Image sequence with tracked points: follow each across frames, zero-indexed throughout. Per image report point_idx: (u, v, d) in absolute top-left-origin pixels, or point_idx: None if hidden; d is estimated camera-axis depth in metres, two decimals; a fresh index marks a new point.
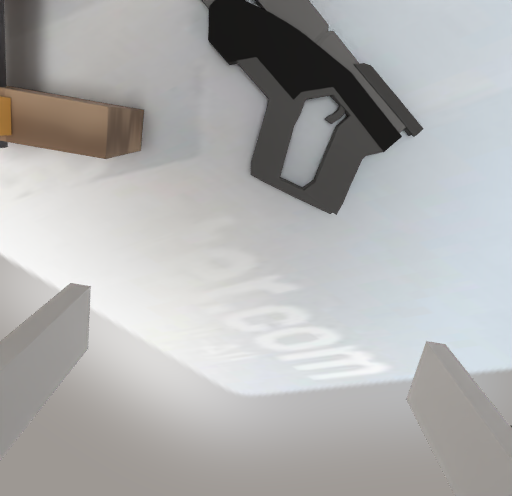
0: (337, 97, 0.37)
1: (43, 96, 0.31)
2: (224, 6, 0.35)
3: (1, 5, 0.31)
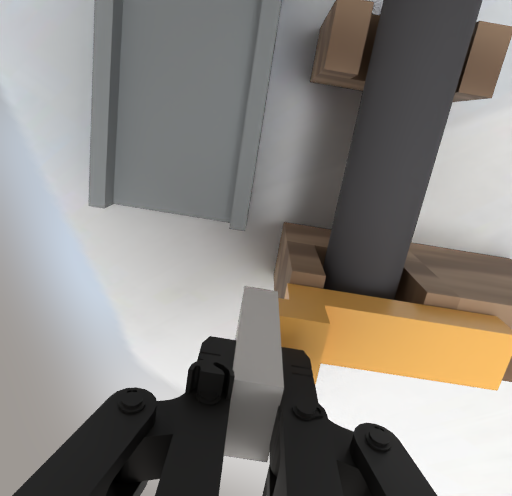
0: None
1: None
2: None
3: None
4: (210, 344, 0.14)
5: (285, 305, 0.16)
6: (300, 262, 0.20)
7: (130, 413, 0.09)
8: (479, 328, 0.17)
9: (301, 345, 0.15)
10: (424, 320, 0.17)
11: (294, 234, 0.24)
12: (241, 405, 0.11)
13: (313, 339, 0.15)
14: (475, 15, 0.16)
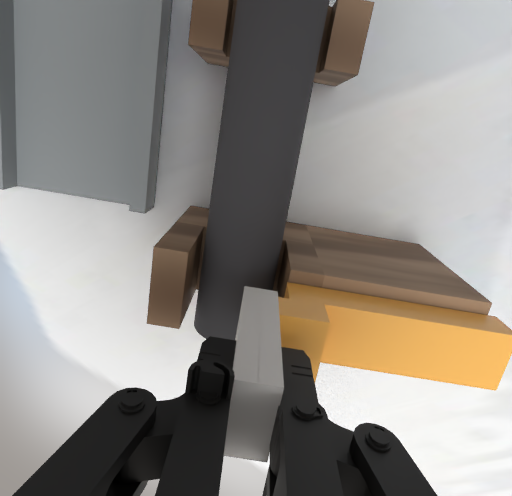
0: None
1: (386, 286, 0.18)
2: None
3: None
4: (210, 344, 0.14)
5: (285, 304, 0.16)
6: (171, 240, 0.19)
7: (130, 413, 0.09)
8: (478, 329, 0.17)
9: (301, 344, 0.16)
10: (424, 319, 0.17)
11: (191, 216, 0.24)
12: (241, 405, 0.11)
13: (313, 338, 0.15)
14: None
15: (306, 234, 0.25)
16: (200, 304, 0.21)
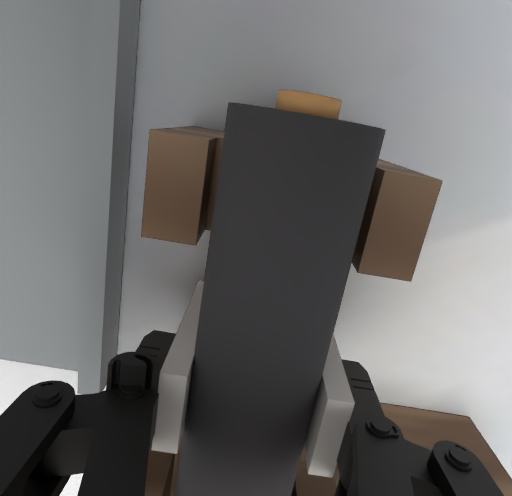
0: None
1: None
2: None
3: None
4: (152, 338, 0.13)
5: None
6: None
7: (46, 406, 0.09)
8: None
9: None
10: None
11: None
12: (171, 399, 0.11)
13: None
14: (364, 182, 0.09)
15: None
16: None
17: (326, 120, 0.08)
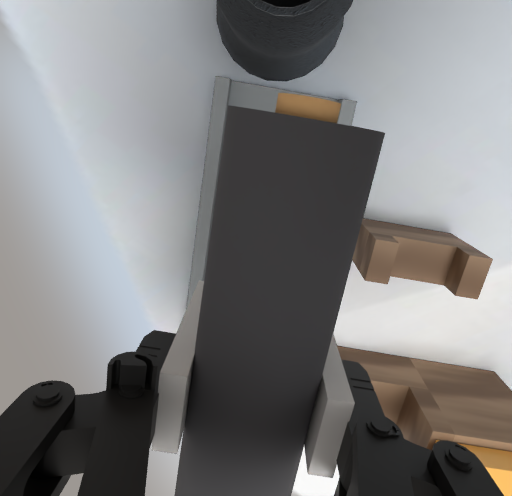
0: None
1: (496, 441, 0.27)
2: None
3: None
4: (152, 338, 0.13)
5: None
6: None
7: (46, 406, 0.09)
8: None
9: None
10: None
11: None
12: (171, 399, 0.11)
13: None
14: (363, 185, 0.09)
15: (417, 373, 0.34)
16: None
17: (326, 124, 0.08)
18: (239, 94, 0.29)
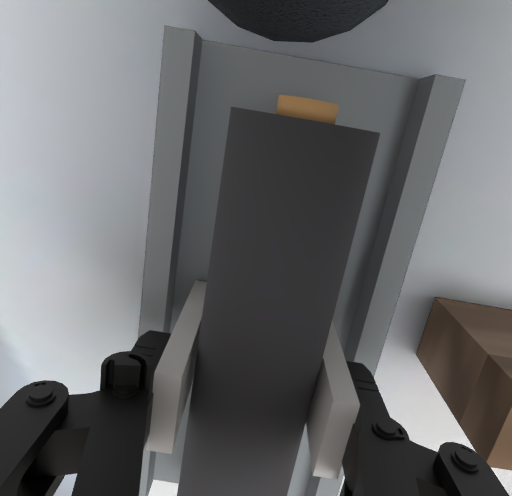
0: None
1: None
2: None
3: None
4: (148, 338, 0.13)
5: None
6: None
7: (40, 406, 0.09)
8: None
9: None
10: None
11: None
12: (165, 399, 0.11)
13: None
14: (358, 183, 0.10)
15: None
16: None
17: (319, 124, 0.09)
18: (219, 67, 0.15)
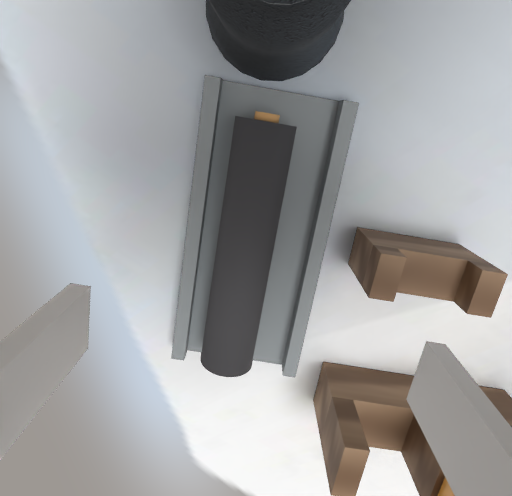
0: None
1: None
2: None
3: None
4: None
5: None
6: (348, 432, 0.26)
7: None
8: None
9: None
10: None
11: (335, 384, 0.31)
12: None
13: None
14: (280, 145, 0.24)
15: None
16: (203, 342, 0.30)
17: (260, 121, 0.23)
18: (231, 94, 0.27)
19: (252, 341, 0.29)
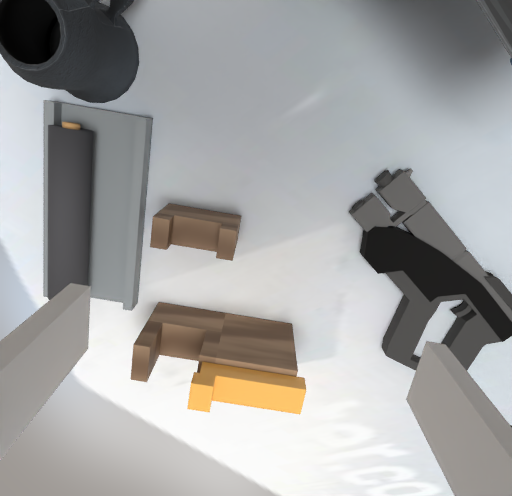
0: (467, 301, 0.44)
1: (246, 363, 0.38)
2: (380, 233, 0.42)
3: (76, 202, 0.39)
4: None
5: (196, 376, 0.36)
6: (142, 338, 0.39)
7: None
8: (287, 386, 0.37)
9: (201, 395, 0.35)
10: (262, 382, 0.37)
11: (157, 314, 0.44)
12: None
13: (206, 393, 0.35)
14: (58, 142, 0.37)
15: (221, 322, 0.45)
16: None
17: (48, 126, 0.37)
18: (68, 112, 0.40)
19: (65, 280, 0.41)
